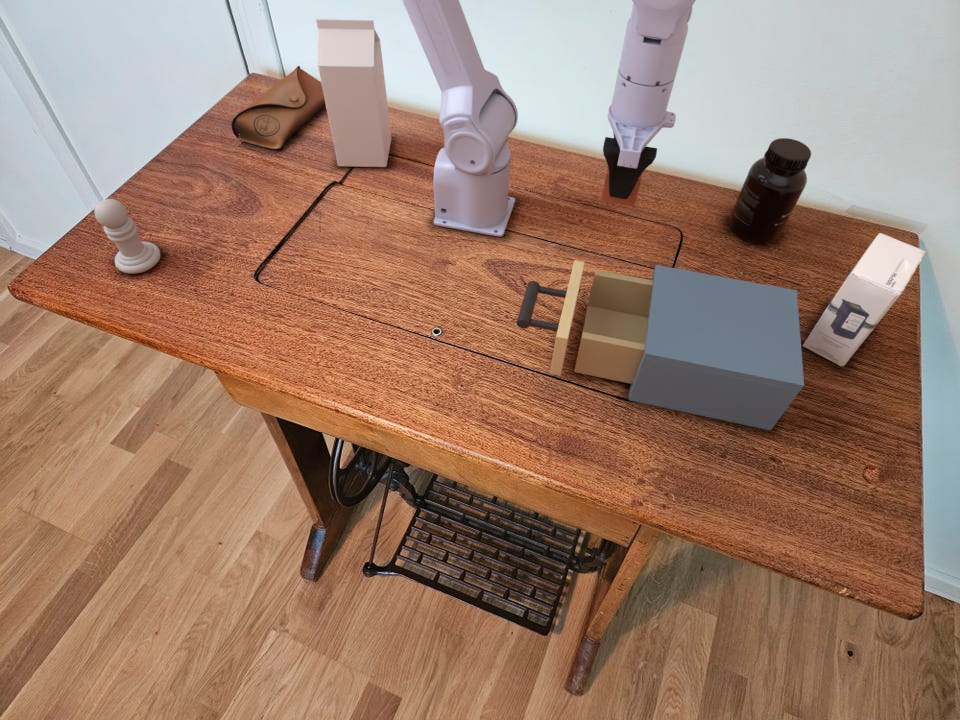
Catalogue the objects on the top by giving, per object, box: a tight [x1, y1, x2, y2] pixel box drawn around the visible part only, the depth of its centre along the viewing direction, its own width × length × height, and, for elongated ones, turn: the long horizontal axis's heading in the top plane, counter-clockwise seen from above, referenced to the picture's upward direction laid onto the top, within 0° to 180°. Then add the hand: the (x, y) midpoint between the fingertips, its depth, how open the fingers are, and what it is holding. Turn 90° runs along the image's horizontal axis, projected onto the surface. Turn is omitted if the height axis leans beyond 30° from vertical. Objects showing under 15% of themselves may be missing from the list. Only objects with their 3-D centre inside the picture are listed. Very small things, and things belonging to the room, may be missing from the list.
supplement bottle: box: [728, 137, 812, 244], centre depth 78 cm, size 7×7×12 cm
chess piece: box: [93, 198, 161, 275], centre depth 74 cm, size 5×5×9 cm
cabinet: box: [628, 264, 805, 431], centre depth 65 cm, size 15×13×8 cm
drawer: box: [516, 259, 653, 385], centre depth 67 cm, size 18×11×6 cm, turn 76°
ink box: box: [802, 232, 926, 367], centre depth 67 cm, size 8×5×12 cm, turn 140°
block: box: [600, 166, 643, 208], centre depth 73 cm, size 4×4×4 cm
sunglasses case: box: [230, 65, 326, 150], centre depth 97 cm, size 18×7×7 cm
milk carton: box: [315, 18, 392, 168], centre depth 84 cm, size 7×7×19 cm
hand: (620, 184), depth 73 cm, fingers closed on block, 4 cm apart
